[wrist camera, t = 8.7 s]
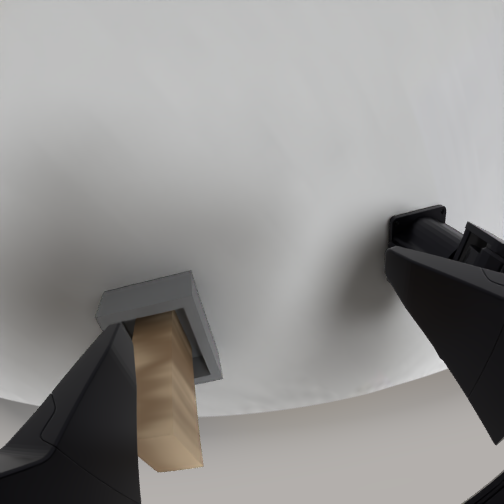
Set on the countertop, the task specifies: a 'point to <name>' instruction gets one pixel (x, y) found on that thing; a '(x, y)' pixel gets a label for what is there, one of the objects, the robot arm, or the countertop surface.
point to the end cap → (163, 300)
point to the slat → (165, 394)
